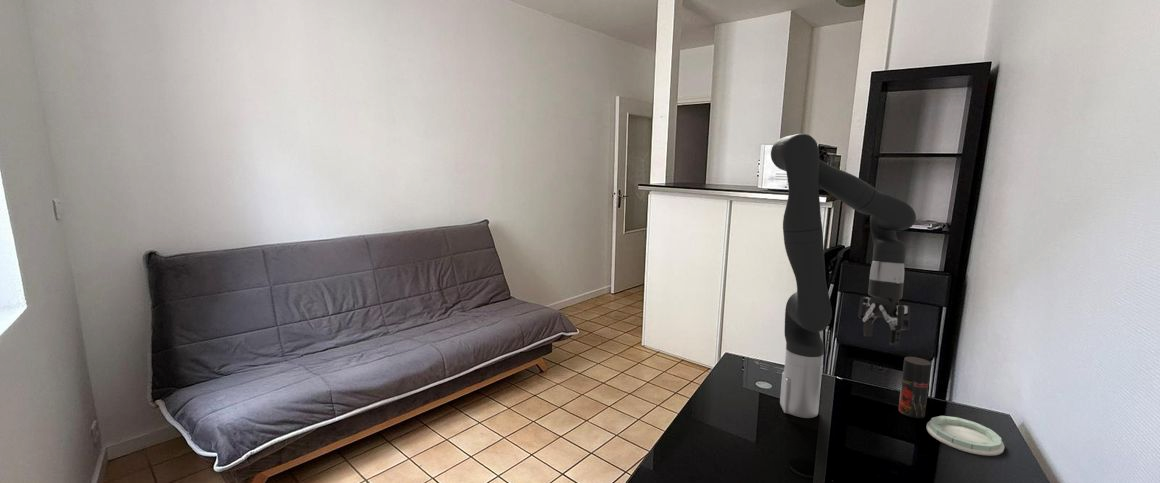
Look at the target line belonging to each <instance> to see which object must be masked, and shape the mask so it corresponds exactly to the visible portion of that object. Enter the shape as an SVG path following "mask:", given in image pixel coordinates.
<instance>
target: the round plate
mask: <svg viewBox="0 0 1160 483" xmlns="http://www.w3.org/2000/svg"><path fill="white" fill-rule="evenodd" d="M926 431H927V433H928V434H929V435H930V436H932V438H934V439H935V440H937V441H939V442H940V443H943V444H944V445H946V446H949V447H950V448H954V449H956V450H959V451H962V452H966V453H969V454H974V455H978V456H988V457H989V456H991V457H992V456H993V457H994V456H998V455H1002V454H1003V453H1004V451H1005V444H1004V442H1003V441H1002V437H1001V436H999V434H998V433H996V432H995V431H994V430H992V429H991V428H988V427H987V426H984V425H983V424H980V423H977V422H975V421H972V420H969V419H964V418H961V417H957V416H948V415H947V416H946V415H939V416H934V417H931V419H930V420H929V421H928V422H927V423H926Z"/></svg>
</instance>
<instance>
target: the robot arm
mask: <svg viewBox="0 0 1160 483" xmlns="http://www.w3.org/2000/svg"><path fill="white" fill-rule="evenodd" d="M770 158H771V161H772V163H773V165H774V166H775V167H777V168H778V169H779V170H782V171H784V172H786V176H787V184H788V185H787V186H788V195H787V196H788V197H787V201H786V206H785V209H784V214H783V217H782V218H783V220H782V232H783V243H784V249H785V252H786V256H787V258H788V262H789V264H790V266H791V270H792V272H793V275H794V278H795V282H796V291H795V292H793V293H792V295H790V296H789V298H788V299H787V302H786V305H785V310H784V311H785V312H784V338H785V357H784V369H783V370H784V371H782V373H781V385H780V397H779V403H780V404H779V405H780V407H781V408H782V412H783V413H784V414H788V415H791V416H795V417H799V418H803V419H812V418H815V417H817V416H818V415H819V410H820V396H821V395H820V394H821V384H822V373H823V363H824V362H823V361H824V351H825V345H824V342H823V340H822V337H821V334H820V332H822V331H824V330H825V329H826V328H827V327H828V326H829V325H830V323H831V320H832V317H833V310H832V309H833V308H832V304H831V303H832V302H831V298H830V295H829V288H828V284H827V278H826V264H825V262H826V260H825V250H824V235H823V234H824V233H823V232H824V231H823V223H822V215H821V213H822V212H821V201H820V200H821V199H820V192H819V191H820V190H819V189H821V190H823V191H825V192H827V194H830V195H831V196H833V198H835V199H838V200H839V201H840V202H842V203H843V204H845V205H847V206H848V207H850V208H851V209H853V210H854V211H856V212H857V213H860V214H863V215H867V216H868V215H870V217H869V226H870V233H871V238H872V242H873V250H872V251H873V252H872V260H871V266H870V271H869V280H868V291H867V294H868V295H869V296H870V297H868V296H866V297H865V296H862V297H860V299H859V306H858V312H857V318H859V319H861V320H862V322H863V329H862V331H863V336H864V337H870V338H871V337H872V336H873V335H874V334H873V333H874V324H875V323H874V322H875V320H876V319H878V318H880V319H883V320H885V321H886V323H888V325H889V327H890V330H889V340H888V344H889V345H892V346H898V345H899V344H900V342H901V335H902V334H901V333H902V331H905V330H906V331H908V330H910V325H911V324H910V321H911V306H909V305H901V304H900V300H901V299H902V298H903V293H904V282H905V259H906V251H907V250H906V244H905V243H904V242H903V241H901V240H899V239H898V238H897V231H905V230H908V229H910V228H911V227H913V226H914V225H915V223H916V219H917V215H916V212H915V210H914V208H913V207H912V206H911V205H910V204H909V203H907V202H905V201H903V200H901V199H899V198H896V197H894V196H892V195H890V194H887V193H885V192H882V191H879V190H878V189H877V188H875V187H874V186H872V185H871V184H869V183H868V182H866V181H864V180H863V179H862V178H860V177H857V176H855V175H854V174H852V173H849V172H847V171H844V170H842V169H840V168H837V167H834V166H833V165H830V164H829V163H827V162H825V161H823V159H820V150H819V145H818V142H817V141H816V139H815V138H814V137H813V136H812V135H809V134H807V133H797V134H793V135H792V134H791V135H787V136H783V137H781V138H779V139H778V140H777V141H775V142H774V144H773V145H772V146H771V149H770Z"/></svg>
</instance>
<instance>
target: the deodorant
mask: <svg viewBox="0 0 1160 483" xmlns="http://www.w3.org/2000/svg"><path fill="white" fill-rule="evenodd" d="M931 367H932V362H931V361H930V360H927V359H925V358H920V357H916V356H905V357H904V360H903V366H902V376H901V385H900V391H899V392H900V393H899V401H898V411H899V413H901V414H902V415H905V416H907V417H910V418H912V419H913V418H914V419H923V418H924V417H926V411H927V410H926V408H927V400H928V391H929V385H930V376H931V369H932V368H931Z"/></svg>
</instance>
